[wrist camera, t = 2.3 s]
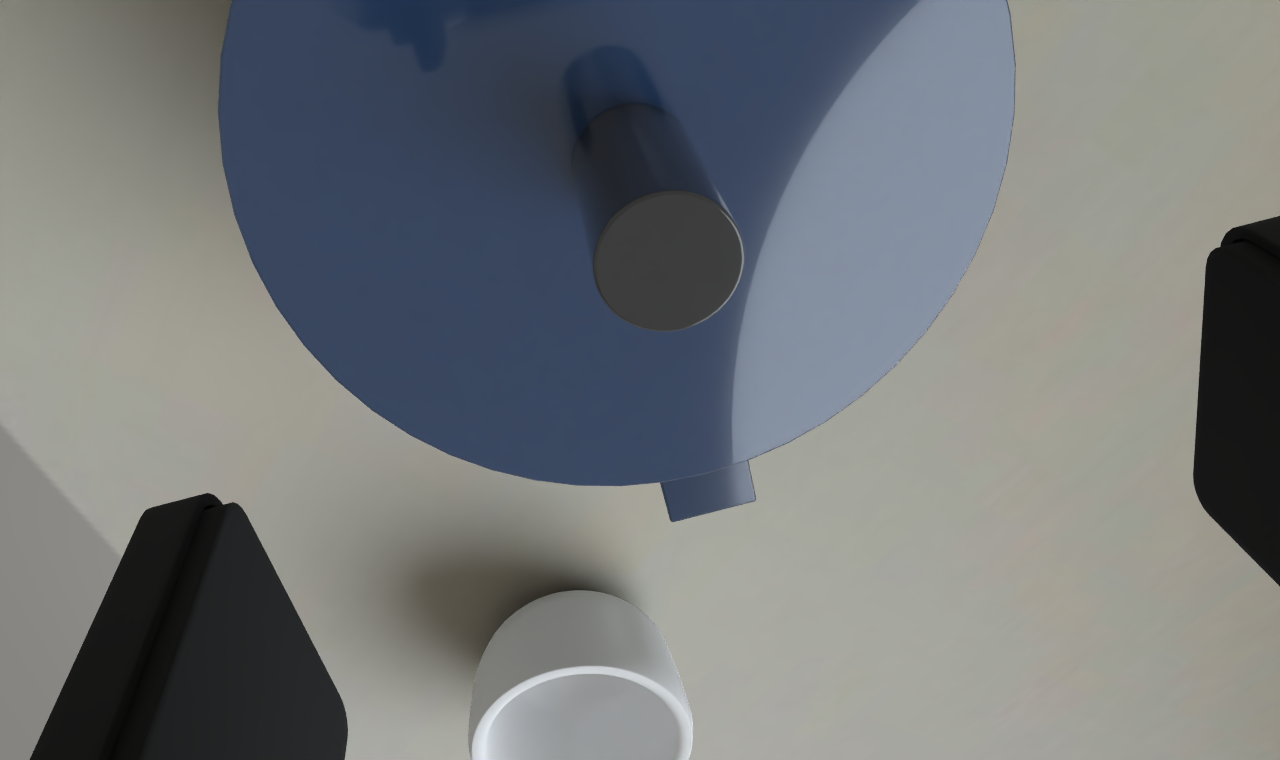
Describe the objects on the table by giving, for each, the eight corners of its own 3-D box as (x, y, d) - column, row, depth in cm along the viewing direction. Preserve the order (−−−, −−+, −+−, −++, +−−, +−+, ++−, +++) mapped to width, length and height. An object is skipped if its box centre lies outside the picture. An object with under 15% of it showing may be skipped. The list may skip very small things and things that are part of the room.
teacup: (437, 598, 39) (431, 710, 34) (635, 531, 39) (655, 636, 34) (534, 766, 44) (540, 884, 40) (710, 709, 44) (736, 821, 39)
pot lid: (973, -407, 19) (1166, -474, 14) (1010, 369, 28) (1138, 518, 22) (75, -172, 19) (-86, -145, 14) (389, 530, 28) (365, 717, 22)
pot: (813, -471, 25) (950, -568, 17) (898, 312, 35) (1004, 454, 28) (162, -299, 25) (27, -324, 17) (444, 429, 36) (434, 602, 28)
